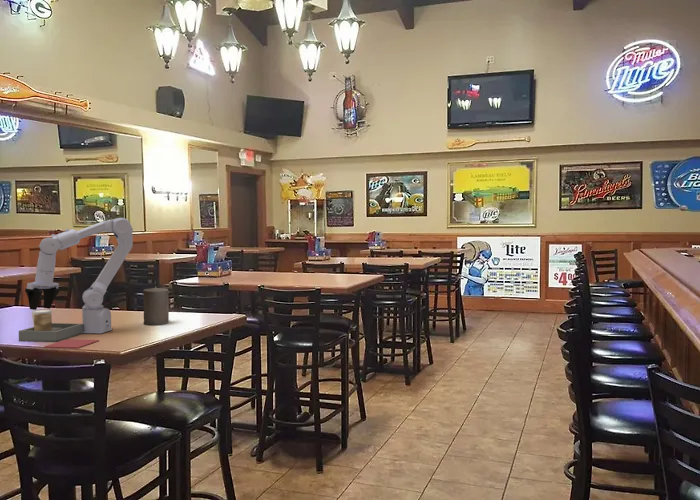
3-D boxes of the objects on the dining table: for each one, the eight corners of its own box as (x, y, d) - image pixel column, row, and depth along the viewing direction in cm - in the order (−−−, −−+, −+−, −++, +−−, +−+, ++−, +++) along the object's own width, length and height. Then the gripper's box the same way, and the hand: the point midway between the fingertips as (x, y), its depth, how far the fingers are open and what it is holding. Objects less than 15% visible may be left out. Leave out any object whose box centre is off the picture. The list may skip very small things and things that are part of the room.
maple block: (51, 330, 215) (51, 313, 215) (44, 332, 211) (44, 315, 211) (41, 330, 216) (41, 313, 215) (34, 332, 212) (33, 315, 211)
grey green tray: (83, 333, 220) (83, 323, 220) (56, 341, 204) (55, 331, 204) (48, 332, 222) (48, 323, 222) (18, 340, 206) (18, 330, 206)
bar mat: (99, 341, 205) (99, 339, 205) (78, 348, 193) (78, 347, 193) (66, 340, 207) (66, 339, 207) (44, 347, 195) (44, 346, 195)
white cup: (30, 331, 225) (29, 312, 224) (34, 328, 231) (34, 310, 231) (50, 330, 226) (49, 311, 226) (54, 327, 233) (53, 309, 233)
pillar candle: (138, 324, 238) (137, 286, 237) (156, 320, 247) (156, 284, 246) (156, 326, 233) (155, 288, 233) (174, 322, 242) (173, 285, 241)
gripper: (48, 269, 222) (43, 306, 221) (21, 269, 207) (15, 308, 207) (65, 272, 221) (60, 308, 220) (39, 272, 206) (34, 311, 206)
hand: (40, 308), depth 214 cm, fingers open, 7 cm apart
